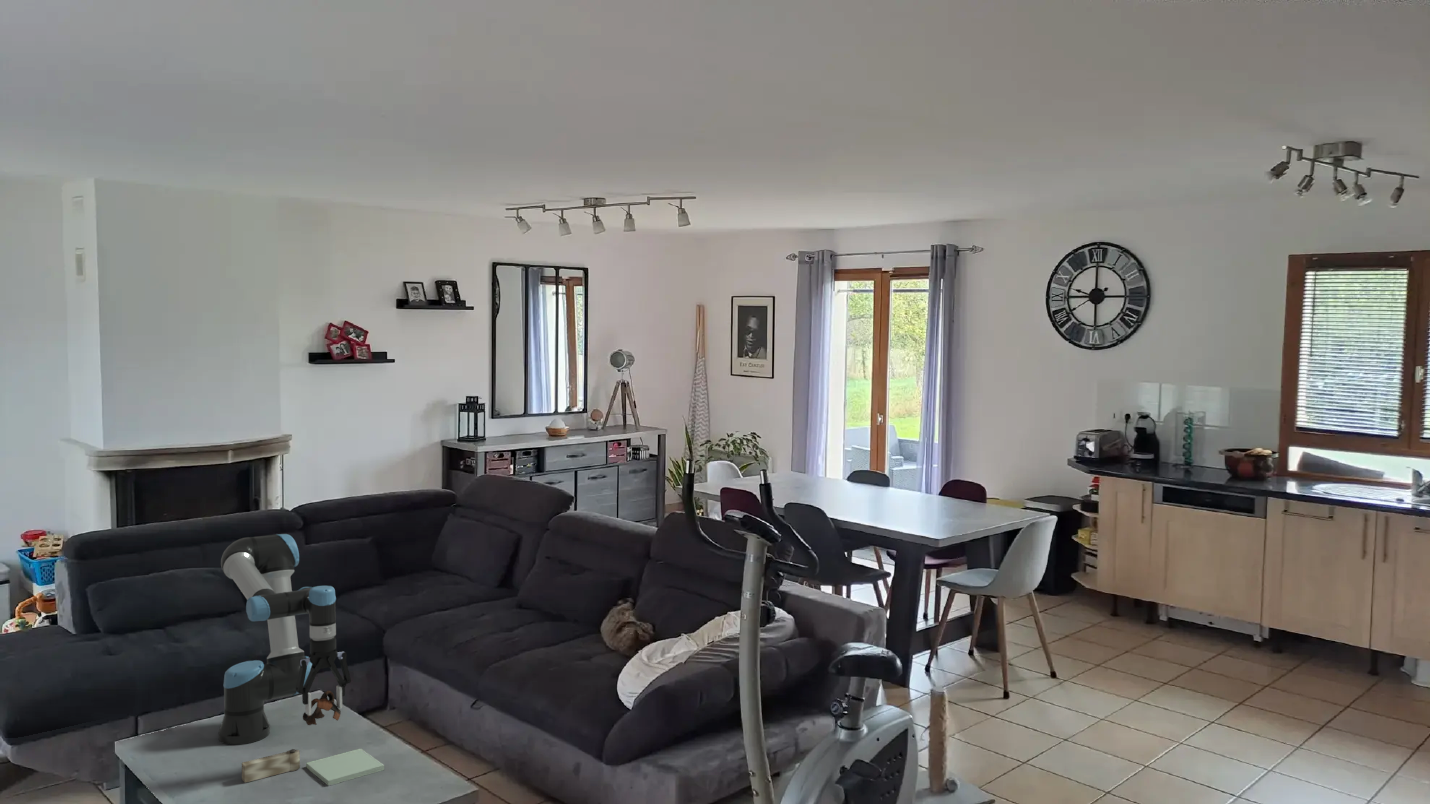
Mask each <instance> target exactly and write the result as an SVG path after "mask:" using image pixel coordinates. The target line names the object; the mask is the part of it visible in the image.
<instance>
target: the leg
mask: <svg viewBox="0 0 1430 804" xmlns="http://www.w3.org/2000/svg"><path fill="white" fill-rule="evenodd" d="M300 757H301V750H299V749H293V748H292V749H290V750H286V751H283V752H281V753H276V754H272V755H267V756H264V757H260V758H259V757H258V758H254V759H251V760H247V761H243V762H241V780H242V781H243V782H244V783H249V782H253V781H257V780H261V779H265V778H268V777H273V776H276V775H280V774H284V773H288V772H294V771H298V770H300V767H301V762H300V761H301V759H300Z"/></svg>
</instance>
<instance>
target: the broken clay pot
mask: <svg viewBox="0 0 1430 804" xmlns="http://www.w3.org/2000/svg"><path fill="white" fill-rule="evenodd" d="M315 705H316V707H315V710H314V711H313V713H311V715H307V714H306V711H304V712H303V713H302V719H303V720H302V721H304V722H305V723H306V724H307V726H312V725H314V726H316V725H318V724H317V721H316V720H317V719H318V720H319V719H323V718H324V717H325V715H326V714H323V711H322V710H324V711H326V712H327V711H330V710H331V711H333V715H332V719H333V720H335V721H339V719H340V717H341V708H338V707H337V704H335V695H334V693H333V692H332V691H331V690H326V691H324V692H323V693H322V694H321V696H320V698H318V697H317V698H314V699H311V709H313V707H314V706H315Z"/></svg>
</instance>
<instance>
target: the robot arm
mask: <svg viewBox="0 0 1430 804" xmlns="http://www.w3.org/2000/svg"><path fill="white" fill-rule="evenodd" d="M298 547H299V546H298V545H297V542H296V540H295V539H294V538H293V536H292V535H290V534H287V533H281V534H278V533H276V534H269V535H268V534H267V535H260V536H250V537H249V536H248V537H242V538H239V539H237V540H235V541H233V542H232V543H231V544H229V545H228V546H227V547H226V549H225V550H224V551H223V553H222V554H221V555H222V556H221V559H220V566H221V570H222V572H223V573H224V575H225V577H227V578H228V579H230V580H233V582H234V583H235V584H236V586H237V588H238V589H239V590H240V592H241V593H242V594H243V596H244V597H245V599H246V605H245V612H246V615H247V619H248V620H249V621H251V622H265V621H267V628H268V636H269V645H270V652H269V654H268V656H267V657H266V663H265V664H264V662H263V661H262V660H259V659H258V660H257V659H255V660H246V661H243V662H239V663H236V664H234V665H232V666H230V667H229V668H228V669H227V670H226V671H225V672H224V678H223V705H224V707H223V708H224V711H223V713H224V714H223V718H222V721H221V724H220V727H219V731H218V741H219V743H222V744H226V745H246V744H251V743H254V742H255V743H256V742H258V741H260V740H263V739H265V738H266V737H268V736H269V735H270V734H271V726H270V723H269V720H268V717H267V714H266V712H265V706H264V705H265V701H270V700H275V699H276V700H277V699H281V698H285V697H289V696H290V697H291V696H296V695H298V694H301V695H302V697H301V699H302V702H301V703H302V704H303V705H305V713H306V714H307V715H311V714H312V708H311V701H312V693H311V692H310V690H311V688H312V685H313V683H314V681H315V679H316V676H317V674H318V673H319V670H323V669H326V668H327V669H328V668H329V669H330V670H331V672H332V675H333V676H334V678H335V680H336V682H337V683H338V685H336V688H335V689H336V692H335V693H336V696H335V697H336V706H337V707H338V708H339V709H343V697H345V695H346V686H347V685H348V684H350V683H351V682H352V679H351V675H350V671H349V667H348V662H347V655H348V654H347V652H345V651H343V650H341V651H339V652H338V651H337V637H336V635H337V624H336V619H337V618H336V616H337V615H336V609H337V608H336V606H337V605H336V603H337V602H336V601H337V597H336V590H335V588H334V587H333V586H332V585H317V586H313V587H312V586H303V587H301V588H299V589H298V590H292V589H293V588H292V581H291V580H292V579H291V576H292V575H293V574H294V573H295V568H296V567H297V566H298V565H299V563H300V553H299V548H298ZM306 614H307V615H308V616H309V622H308V623H309V624H308V625H309V638H310V640H309V655H308V656H307V655H305V651H304V650H303V649H301V648H300V647H299V640H298V633H297V621H296V616H300V615H301V616H302V615H306ZM336 659H338V660H339V664H340V668H341V673H342V675H341V673H340V671H339V669H338V668H337V665H336V664H335V661H336Z"/></svg>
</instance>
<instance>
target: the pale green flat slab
mask: <svg viewBox="0 0 1430 804" xmlns="http://www.w3.org/2000/svg"><path fill="white" fill-rule="evenodd" d="M305 764H306V765H305V768H307V769H308V771H309V772H311V773H312V774H313V775H314V776H316V777H317V778H318V779H319V780H320V781H322V782H323V783H325V785H327V786H328V787H330V786H333V785H336V784H339V783H342V782H343V783H344V782H347V781H350V780H354V779H357V778H360V777H365V776H368V775H371V774H375V773H378V772H382V771H384V770H385V764H383V762H380V760H378V759H376V758H375V757H374V756H372V755H371V754H370V753H368V752H366V751H365V750H364V749H362V748H358V749H353V750H350V751H345V752H343V753H338V754H335V755H331V756H327V757H324V758H320V759H316V760H313V761H308V762H305Z"/></svg>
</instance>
